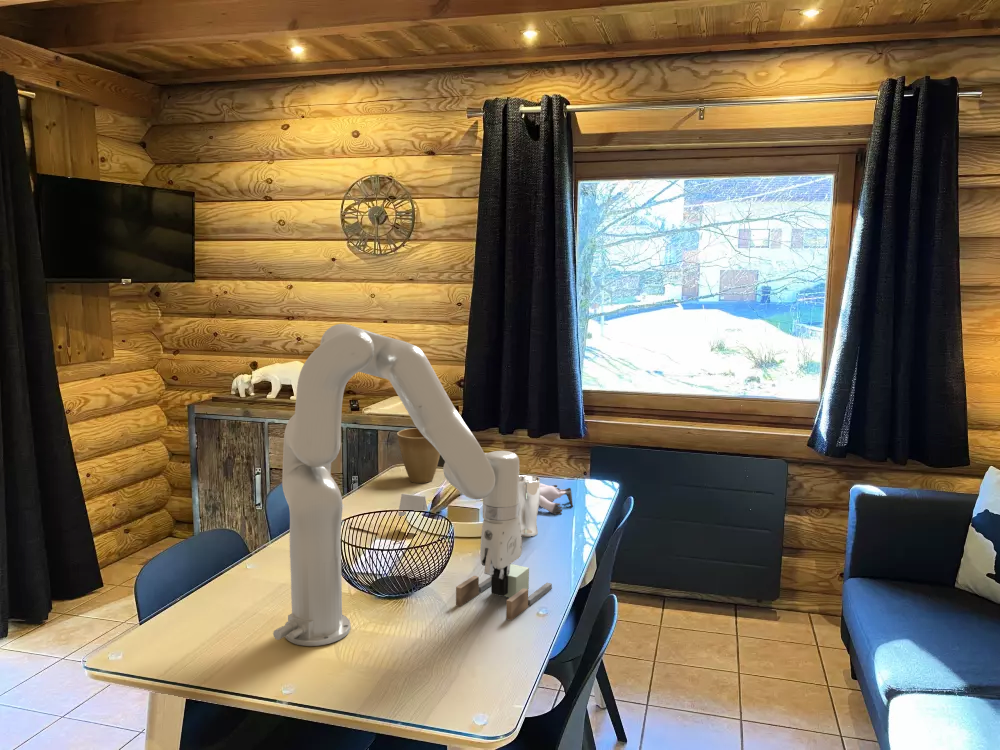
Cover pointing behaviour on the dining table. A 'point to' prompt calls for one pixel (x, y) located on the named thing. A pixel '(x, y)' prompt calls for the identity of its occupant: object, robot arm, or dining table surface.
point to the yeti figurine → (553, 497)
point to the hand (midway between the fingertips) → (499, 593)
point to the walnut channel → (471, 590)
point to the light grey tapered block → (412, 503)
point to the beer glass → (529, 504)
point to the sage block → (517, 579)
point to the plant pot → (418, 455)
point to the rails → (531, 598)
